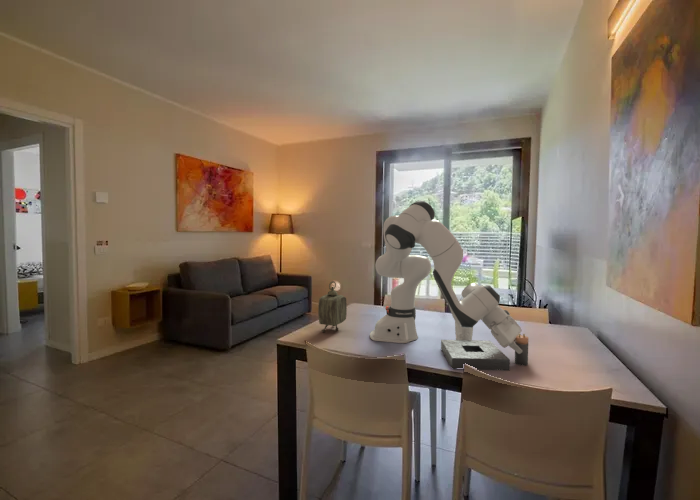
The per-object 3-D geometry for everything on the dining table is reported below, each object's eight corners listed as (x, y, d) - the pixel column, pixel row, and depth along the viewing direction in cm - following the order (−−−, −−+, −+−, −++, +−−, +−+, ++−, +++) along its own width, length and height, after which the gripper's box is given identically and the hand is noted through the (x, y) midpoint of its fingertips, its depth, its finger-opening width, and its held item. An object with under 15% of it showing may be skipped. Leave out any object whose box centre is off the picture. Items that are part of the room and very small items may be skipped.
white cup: (472, 339, 147) (473, 318, 147) (473, 345, 140) (473, 323, 139) (454, 338, 150) (455, 317, 149) (454, 343, 142) (454, 321, 142)
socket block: (452, 368, 116) (452, 358, 116) (441, 349, 136) (441, 339, 136) (509, 370, 114) (509, 359, 114) (489, 350, 134) (490, 340, 134)
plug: (517, 365, 119) (518, 335, 118) (512, 360, 123) (513, 331, 123) (530, 365, 118) (530, 335, 118) (524, 361, 123) (525, 332, 122)
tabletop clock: (332, 325, 171) (331, 279, 170) (347, 327, 168) (347, 279, 166) (318, 333, 158) (317, 282, 157) (334, 335, 154) (334, 284, 153)
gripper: (495, 320, 116) (524, 353, 110) (508, 309, 132) (534, 337, 126) (481, 330, 119) (510, 362, 114) (496, 318, 135) (522, 346, 129)
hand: (523, 349), depth 120 cm, fingers open, 6 cm apart
